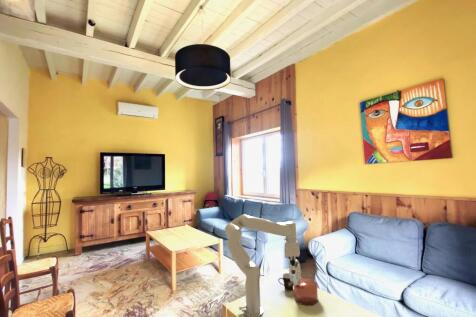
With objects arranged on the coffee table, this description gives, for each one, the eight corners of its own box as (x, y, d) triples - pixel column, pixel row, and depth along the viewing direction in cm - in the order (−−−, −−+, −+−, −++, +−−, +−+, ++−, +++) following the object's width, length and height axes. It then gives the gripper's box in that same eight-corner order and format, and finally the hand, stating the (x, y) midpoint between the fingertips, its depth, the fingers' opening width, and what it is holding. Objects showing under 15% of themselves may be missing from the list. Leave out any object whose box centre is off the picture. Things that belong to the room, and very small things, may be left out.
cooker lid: (298, 290, 161) (294, 289, 160) (289, 278, 178) (286, 278, 177) (302, 264, 162) (298, 264, 162) (293, 255, 179) (289, 255, 178)
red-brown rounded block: (300, 306, 161) (299, 290, 161) (291, 294, 177) (290, 279, 177) (322, 303, 163) (321, 287, 164) (311, 291, 179) (310, 277, 180)
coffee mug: (295, 286, 188) (294, 273, 188) (293, 292, 180) (293, 278, 180) (280, 284, 192) (279, 272, 192) (278, 290, 184) (277, 277, 184)
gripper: (283, 242, 165) (284, 268, 165) (303, 239, 168) (304, 266, 167) (279, 238, 173) (280, 264, 172) (298, 236, 175) (300, 262, 175)
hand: (292, 265), depth 170 cm, fingers closed
